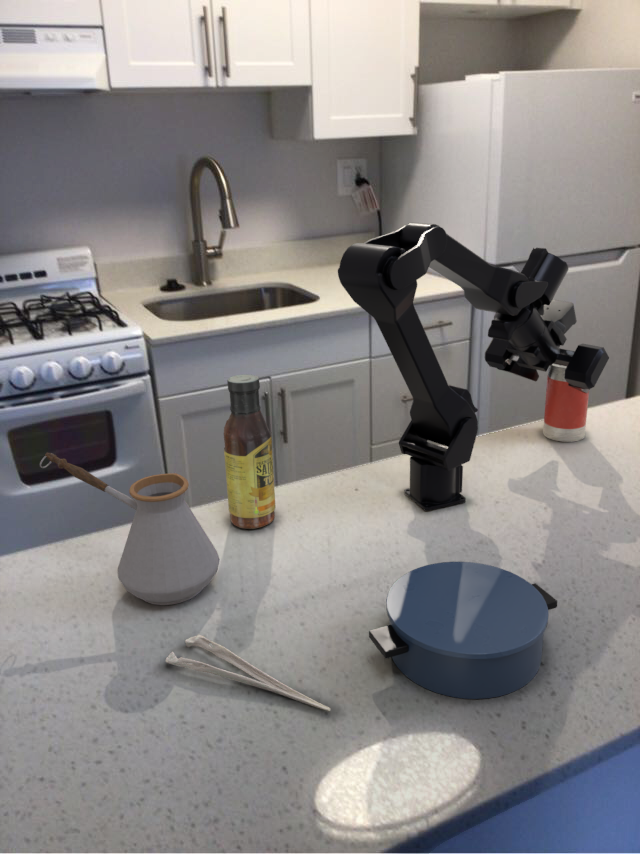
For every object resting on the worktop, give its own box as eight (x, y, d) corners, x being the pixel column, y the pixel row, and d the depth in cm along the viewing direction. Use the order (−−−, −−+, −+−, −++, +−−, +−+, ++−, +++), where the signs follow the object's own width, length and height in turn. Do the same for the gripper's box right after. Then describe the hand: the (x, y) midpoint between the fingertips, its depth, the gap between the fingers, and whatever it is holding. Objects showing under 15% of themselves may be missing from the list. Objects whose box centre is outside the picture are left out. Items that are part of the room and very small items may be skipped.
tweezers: (162, 667, 74) (161, 651, 73) (193, 641, 78) (192, 625, 77) (316, 740, 66) (317, 722, 65) (342, 706, 70) (343, 689, 69)
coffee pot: (238, 569, 90) (228, 453, 85) (188, 624, 80) (173, 497, 75) (92, 541, 98) (74, 434, 93) (30, 588, 88) (6, 471, 83)
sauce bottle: (269, 533, 98) (259, 387, 91) (223, 530, 100) (210, 386, 92) (281, 510, 104) (273, 371, 97) (238, 507, 105) (226, 370, 98)
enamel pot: (416, 728, 65) (416, 679, 63) (344, 629, 79) (343, 586, 77) (595, 667, 72) (600, 621, 70) (500, 585, 85) (502, 545, 83)
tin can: (560, 444, 122) (566, 370, 117) (534, 431, 128) (539, 360, 123) (593, 437, 124) (600, 364, 120) (566, 424, 130) (572, 354, 126)
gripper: (609, 293, 106) (639, 353, 116) (498, 279, 119) (534, 333, 130) (573, 360, 104) (607, 414, 114) (465, 337, 117) (504, 388, 128)
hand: (561, 384), depth 122 cm, fingers open, 9 cm apart
